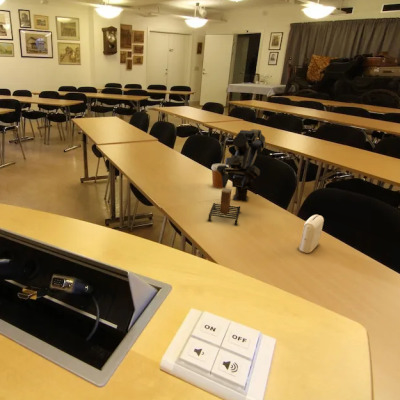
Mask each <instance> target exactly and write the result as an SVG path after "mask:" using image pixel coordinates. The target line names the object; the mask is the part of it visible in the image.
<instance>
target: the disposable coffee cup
mask: <svg viewBox="0 0 400 400" xmlns="http://www.w3.org/2000/svg"><path fill="white" fill-rule="evenodd" d="M219 165H225V163H213V164H212V165H211V167H210V168H211V176H212V177H211V178H212V179H211V180H212V187H213V188H215V189H224V188H223V183H222V176H221V174H220V173H219V172H218V171H216V170H217V167H218V166H219ZM226 166H227V167H228V168H230V166H229V165H226Z"/></svg>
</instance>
